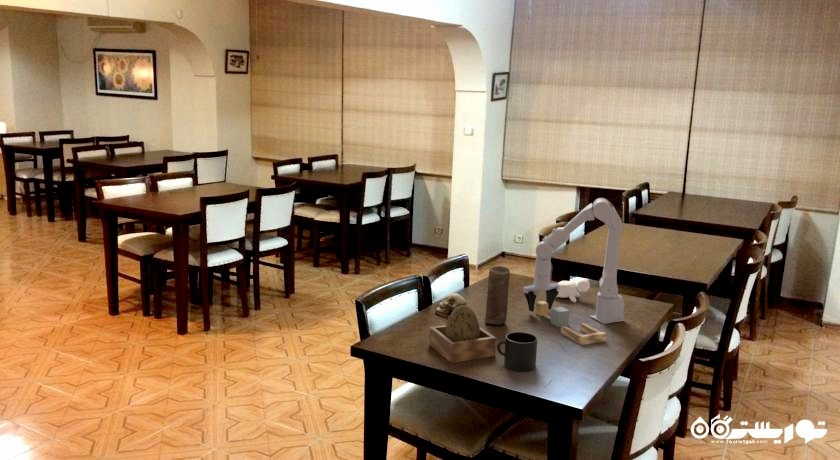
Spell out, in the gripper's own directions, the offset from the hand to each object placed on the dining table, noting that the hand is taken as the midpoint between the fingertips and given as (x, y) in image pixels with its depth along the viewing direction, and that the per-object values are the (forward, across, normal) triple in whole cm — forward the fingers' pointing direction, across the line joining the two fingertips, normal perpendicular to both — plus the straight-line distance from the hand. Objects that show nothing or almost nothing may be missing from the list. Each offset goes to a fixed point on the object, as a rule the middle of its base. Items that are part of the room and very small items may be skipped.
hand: (539, 309), depth 259 cm
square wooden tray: (+1, +44, +22) cm, 49 cm away
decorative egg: (+2, +44, +22) cm, 49 cm away
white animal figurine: (+2, -22, -11) cm, 25 cm away
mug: (+2, +34, +38) cm, 51 cm away
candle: (+2, +21, +4) cm, 21 cm away
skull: (+2, +31, -11) cm, 33 cm away
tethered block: (+1, 0, +7) cm, 7 cm away
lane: (+1, 0, +25) cm, 25 cm away
